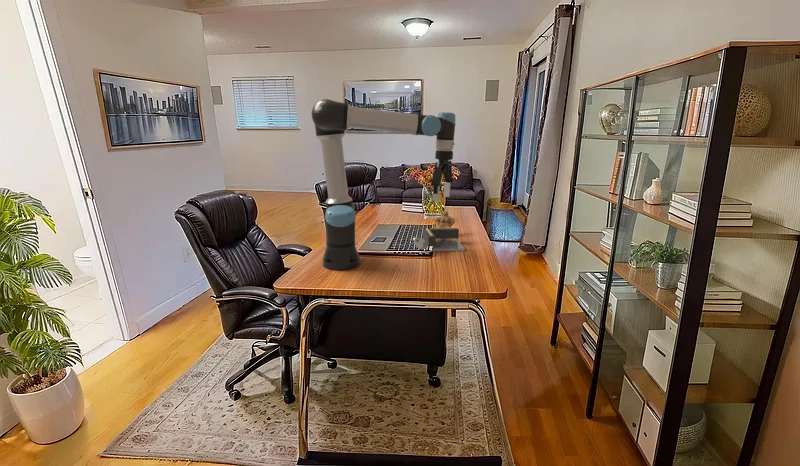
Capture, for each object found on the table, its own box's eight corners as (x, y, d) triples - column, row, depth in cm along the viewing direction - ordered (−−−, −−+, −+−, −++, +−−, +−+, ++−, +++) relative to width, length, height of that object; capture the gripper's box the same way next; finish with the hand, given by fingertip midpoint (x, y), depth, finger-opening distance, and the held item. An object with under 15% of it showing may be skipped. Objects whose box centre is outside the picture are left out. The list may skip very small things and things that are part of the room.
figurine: (431, 237, 196) (433, 208, 197) (435, 238, 205) (436, 211, 206) (452, 238, 193) (453, 209, 194) (454, 239, 202) (456, 211, 203)
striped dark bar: (428, 248, 172) (428, 235, 171) (422, 239, 186) (423, 227, 184) (435, 248, 173) (435, 235, 171) (429, 239, 186) (429, 227, 185)
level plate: (417, 251, 172) (417, 247, 172) (412, 241, 188) (412, 237, 187) (465, 250, 175) (465, 246, 175) (455, 240, 190) (456, 236, 190)
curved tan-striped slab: (458, 240, 186) (459, 228, 184) (430, 240, 184) (431, 228, 183) (456, 238, 189) (457, 226, 187) (429, 238, 187) (429, 227, 186)
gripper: (442, 151, 149) (438, 204, 154) (461, 149, 170) (458, 195, 176) (425, 150, 152) (422, 202, 158) (446, 148, 173) (443, 194, 179)
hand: (441, 198), depth 167 cm, fingers open, 13 cm apart
